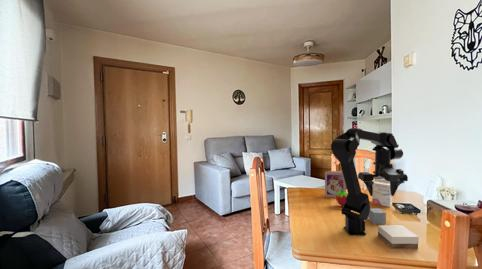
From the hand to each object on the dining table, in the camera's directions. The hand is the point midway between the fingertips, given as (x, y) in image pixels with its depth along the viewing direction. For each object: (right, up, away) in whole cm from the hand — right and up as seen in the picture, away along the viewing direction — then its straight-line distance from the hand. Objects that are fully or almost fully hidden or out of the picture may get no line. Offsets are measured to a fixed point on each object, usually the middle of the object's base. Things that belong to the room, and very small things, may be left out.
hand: (381, 195), depth 102 cm
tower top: (-4, -11, -16) cm, 20 cm away
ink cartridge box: (+14, -11, +23) cm, 29 cm away
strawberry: (-8, -11, +20) cm, 25 cm away
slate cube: (-1, -12, +2) cm, 12 cm away
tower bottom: (-4, -14, -16) cm, 21 cm away
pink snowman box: (-5, -10, +38) cm, 40 cm away
